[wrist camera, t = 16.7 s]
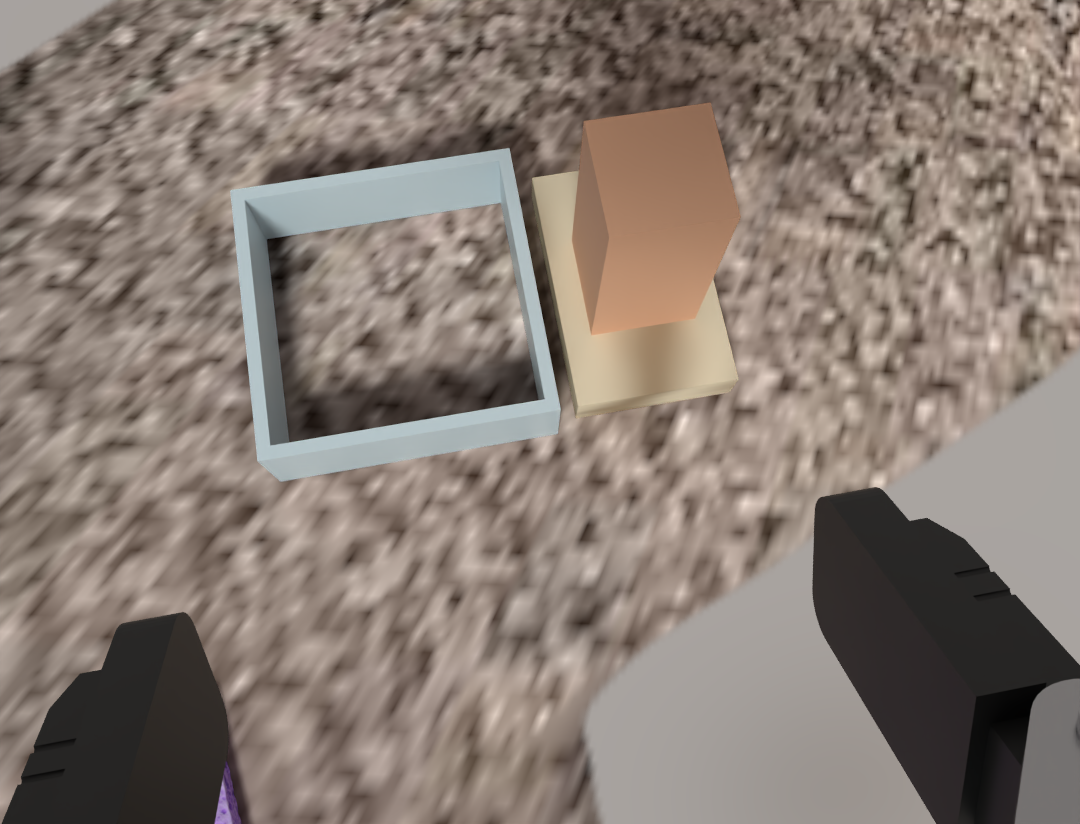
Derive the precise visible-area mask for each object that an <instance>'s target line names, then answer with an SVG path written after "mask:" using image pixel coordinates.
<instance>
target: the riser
mask: <svg viewBox="0 0 1080 824" xmlns="http://www.w3.org/2000/svg"><path fill="white" fill-rule="evenodd" d="M578 174H579V171H573V172H566V173H560V174H553V175H547V176H540V177H534V178H532V202H533V207H534V212H535V217H536V222H537V227H538V232H539V237H540V242H541V247H542V252H543V257H544V262H545V267H546V272H547V277H548V282H549V287H550V292H551V297H552V302H553V307H554V312H555V317H556V322H557V327H558V332H559V337H560V342H561V347H562V352H563V357H564V362H565V366H566V371H567V376H568V381H569V386H570V391H571V396H572V401H573V406H574V411H575V416H576V418H582V417H588V416H594V415H600V414H605V413H611V412H617V411H623V410H629V409H635V408H641V407H646V406H652V405H658V404H664V403H670V402H676V401H681V400H687V399H693V398H699V397H705V396H711V395H716V394H722V393H728V392H730V391H731V390H732V388H733V387H734V385H735V384H736V382H737V381H738V379H739V378H738V375H737V371H736V367H735V363H734V359H733V355H732V351H731V347H730V343H729V339H728V335H727V331H726V327H725V323H724V319H723V315H722V312H721V308H720V304H719V300H718V296H717V292H716V288H715V284H714V280H712V282H711V284H710V286H709V289H708V291H707V293H706V295H705V297H704V300H703V302H702V304H701V306H700V309H699V311H698V313H697V315H696V317H695V319H690V320H684V321H678V322H672V323H665V324H659V325H653V326H647V327H640V328H634V329H628V330H622V331H616V332H609V333H603V334H597V335H591V332H590V327H589V322H588V317H587V312H586V307H585V303H584V298H583V293H582V288H581V283H580V278H579V273H578V268H577V264H576V259H575V254H574V249H573V244H572V233H573V223H574V213H575V203H576V193H577V184H578Z"/></svg>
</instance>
